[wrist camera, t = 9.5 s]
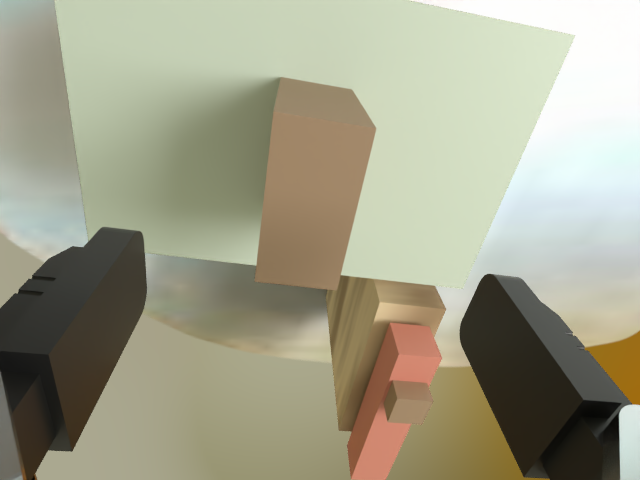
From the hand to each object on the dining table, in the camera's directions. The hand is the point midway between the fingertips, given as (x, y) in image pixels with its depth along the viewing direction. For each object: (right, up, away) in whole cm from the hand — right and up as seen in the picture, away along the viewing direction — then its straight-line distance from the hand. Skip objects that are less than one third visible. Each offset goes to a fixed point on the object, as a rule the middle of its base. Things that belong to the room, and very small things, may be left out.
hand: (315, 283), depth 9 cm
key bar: (+4, -9, +17) cm, 19 cm away
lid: (-1, +6, +9) cm, 11 cm away
